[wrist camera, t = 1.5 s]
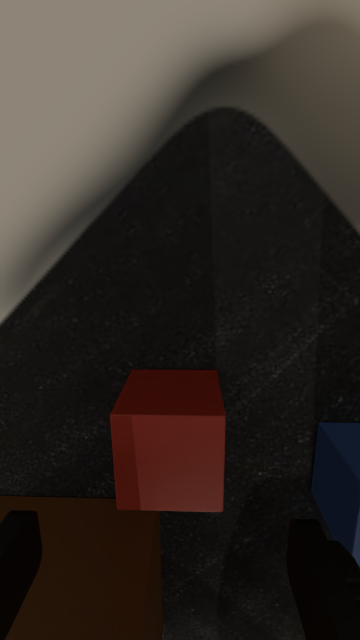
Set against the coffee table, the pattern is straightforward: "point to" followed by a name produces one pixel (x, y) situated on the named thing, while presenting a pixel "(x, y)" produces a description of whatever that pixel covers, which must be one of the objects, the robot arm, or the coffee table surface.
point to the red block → (169, 441)
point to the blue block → (339, 482)
